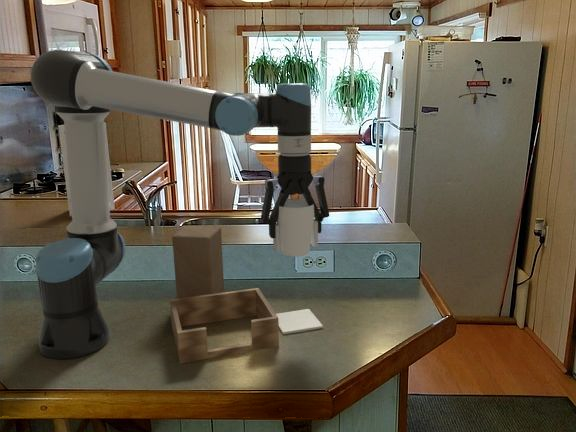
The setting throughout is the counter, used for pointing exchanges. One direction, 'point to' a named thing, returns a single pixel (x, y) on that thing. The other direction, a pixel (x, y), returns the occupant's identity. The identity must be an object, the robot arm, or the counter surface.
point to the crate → (218, 309)
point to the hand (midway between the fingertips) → (295, 248)
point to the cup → (295, 227)
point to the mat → (298, 321)
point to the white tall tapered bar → (65, 164)
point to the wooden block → (198, 261)
